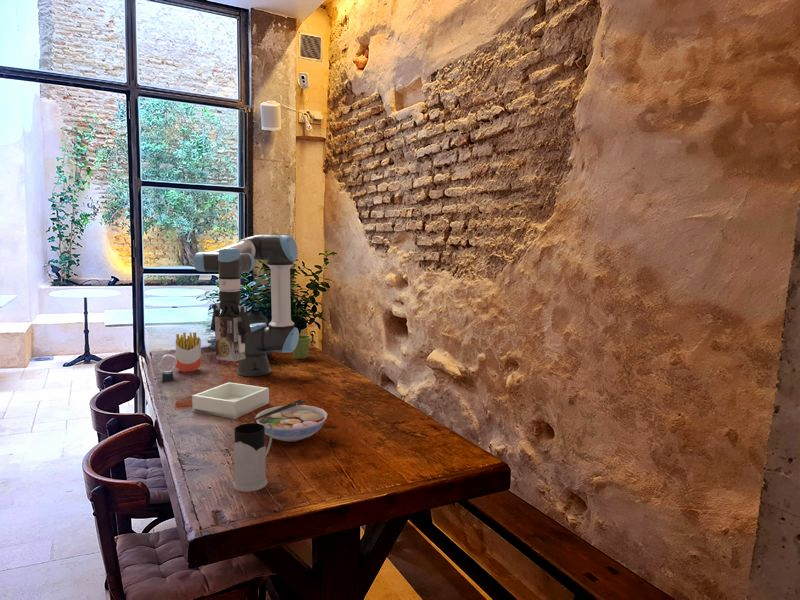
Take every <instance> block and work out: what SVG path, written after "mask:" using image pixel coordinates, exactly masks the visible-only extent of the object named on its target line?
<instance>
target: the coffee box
mask: <svg viewBox="0 0 800 600" xmlns="http://www.w3.org/2000/svg"><path fill="white" fill-rule="evenodd" d="M240 321H242V320H241V316H238V317H232V316H229V315H228V316H223V317H221V316H216V317H215V332H214V334H215V335H216V340H215V359H216V360H221V361H228V362H237V361H240V360H241V359H245V358H246V356H245V352H241V353H239V352H238V335H239V334H240V332H239V330H238V322H240ZM215 335H214V336H215Z"/></svg>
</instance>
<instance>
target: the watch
mask: <svg viewBox="0 0 800 600" xmlns="http://www.w3.org/2000/svg"><path fill="white" fill-rule="evenodd" d="M167 357H171V358H173V359H174V360H175V361H174V364H173V366H172V368H171V369H169V370H163V369H162V368H161V366H162V365H163V364H164V362H165V360H166V358H167ZM156 364H157V365H156V366H158V367H157V368H158V370H159V371H160V372H161V373H162V374H161V375H162V376H161V378H162V382H166V381H167V380H170V381H174V370H176V368H177V367H176V365H177V361H176V356H174V355H173V354H164V355H161V357H160V359H159V361H158V363H156ZM167 382H168V381H167Z"/></svg>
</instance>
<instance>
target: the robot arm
mask: <svg viewBox="0 0 800 600" xmlns="http://www.w3.org/2000/svg"><path fill="white" fill-rule="evenodd" d="M297 260H298V244H297V242H296V240H295V239H294V237H293V236H291V235H287V234H256V235H253V236H248V237H245V238H242V239H239V240H238V241H237V242H236V243H234V244H231V245H227V246H225V247H222V248H219V249H216V250H212V251H200V252H196V253H195V254H194V256H193V267H194V269H195V270H196V271H198V272H204V273H206V272H208V273H211V272H213V273H218V290H220V291H219V292H218V300H219V302H220V303H217V304H213V306H212V308H213V309H212V310H213V312H212V317H211V323H210V330H211V331H213V332H214V333H215V317H216V316H221V317H223V316H228V315H229V316H232V317H238V316H241V320H242V321H240V322H238V330H239V332H240V334H239V335H238V352H239V353H241V352H245V356H246V358H245V359H241V360H239V363H238V365H237V370H236V371H237V375H239V376H241V377H260V376H266V375H269V374H271V369H272V368H271V365H270V361H269V360H268V359H267V352H272V353H282V354H285V353H293V351H294V350H295V348H296V346H297V343H298V339H299V335H300V332H299V329H298V328H297V327H295V322H294V321H292V314H291V313H292V311H291V308H292V307H291V305H292V304H291V268H292V267H293V266H294V262H296V261H297ZM256 261H265V262H266V265H267V267H269V269H270V293H271V294H270V296H271V297H270V298H271V321H270V322H269V323H268V324H267V325H268V326H267V325H266V323H255V324H249V319H248V314H247V313H248V306H246V305H245V306H244V305H241V304H240V303H241V298H242V297H241V291H240V290H241V289H242V288H241V274H243V273H244V274H245V273H249V272H251V271H252V270H253V269H254V268H255V265H256ZM214 336H215V337H214V338H215V341H216V335H214Z"/></svg>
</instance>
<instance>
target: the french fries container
mask: <svg viewBox="0 0 800 600" xmlns="http://www.w3.org/2000/svg"><path fill="white" fill-rule="evenodd" d="M175 338H176V339H175V358H176V360H175V361H177V365H176V367H175V368H177V369H178V370H179V371H180V372H182V373H185V372H187V371H188V372H195V371H197V370H198V369H199V368H200V367H201V365H202V351H201V350H202V348H201V347H202V346H201V345H202V343H201V342H202V341H201V338H200V336H197V332H196V331H195V332H194V331H193V332H189V335H186V332H183V334H179V333H177V334H175Z"/></svg>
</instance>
